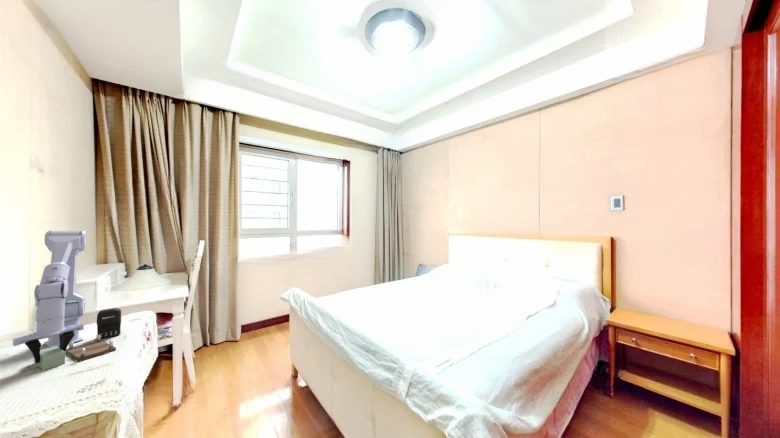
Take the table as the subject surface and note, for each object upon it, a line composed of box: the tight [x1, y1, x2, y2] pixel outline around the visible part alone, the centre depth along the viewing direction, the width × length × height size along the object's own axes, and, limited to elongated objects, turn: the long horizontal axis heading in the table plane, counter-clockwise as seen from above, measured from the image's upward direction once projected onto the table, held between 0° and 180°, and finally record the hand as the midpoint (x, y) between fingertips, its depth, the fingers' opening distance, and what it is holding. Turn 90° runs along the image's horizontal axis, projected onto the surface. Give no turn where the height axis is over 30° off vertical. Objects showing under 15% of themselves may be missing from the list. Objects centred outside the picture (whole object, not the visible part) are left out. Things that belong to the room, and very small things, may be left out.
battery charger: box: [96, 307, 123, 340], centre depth 109 cm, size 7×4×11 cm, turn 130°
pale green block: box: [34, 346, 66, 371], centre depth 89 cm, size 9×4×4 cm, turn 64°
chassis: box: [65, 334, 117, 362], centre depth 97 cm, size 14×9×4 cm, turn 64°
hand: (49, 358), depth 89 cm, fingers closed on pale green block, 4 cm apart
